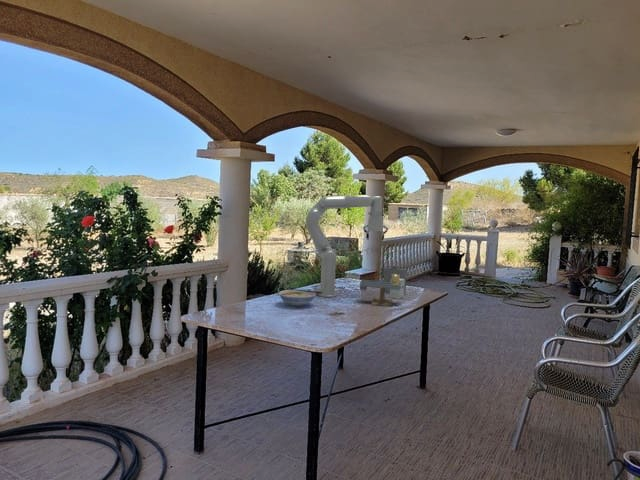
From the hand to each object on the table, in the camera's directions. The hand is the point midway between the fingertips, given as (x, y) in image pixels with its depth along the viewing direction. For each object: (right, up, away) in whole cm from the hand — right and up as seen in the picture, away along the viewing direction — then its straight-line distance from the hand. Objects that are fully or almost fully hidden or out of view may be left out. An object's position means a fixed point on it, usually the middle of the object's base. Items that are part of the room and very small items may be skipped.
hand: (375, 239), depth 311 cm
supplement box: (+15, -39, 0) cm, 42 cm away
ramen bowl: (-51, -40, -32) cm, 72 cm away
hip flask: (+15, -38, +15) cm, 44 cm away
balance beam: (+1, -32, -19) cm, 37 cm away
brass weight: (+10, -29, -21) cm, 37 cm away
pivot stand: (+2, -40, -19) cm, 44 cm away
